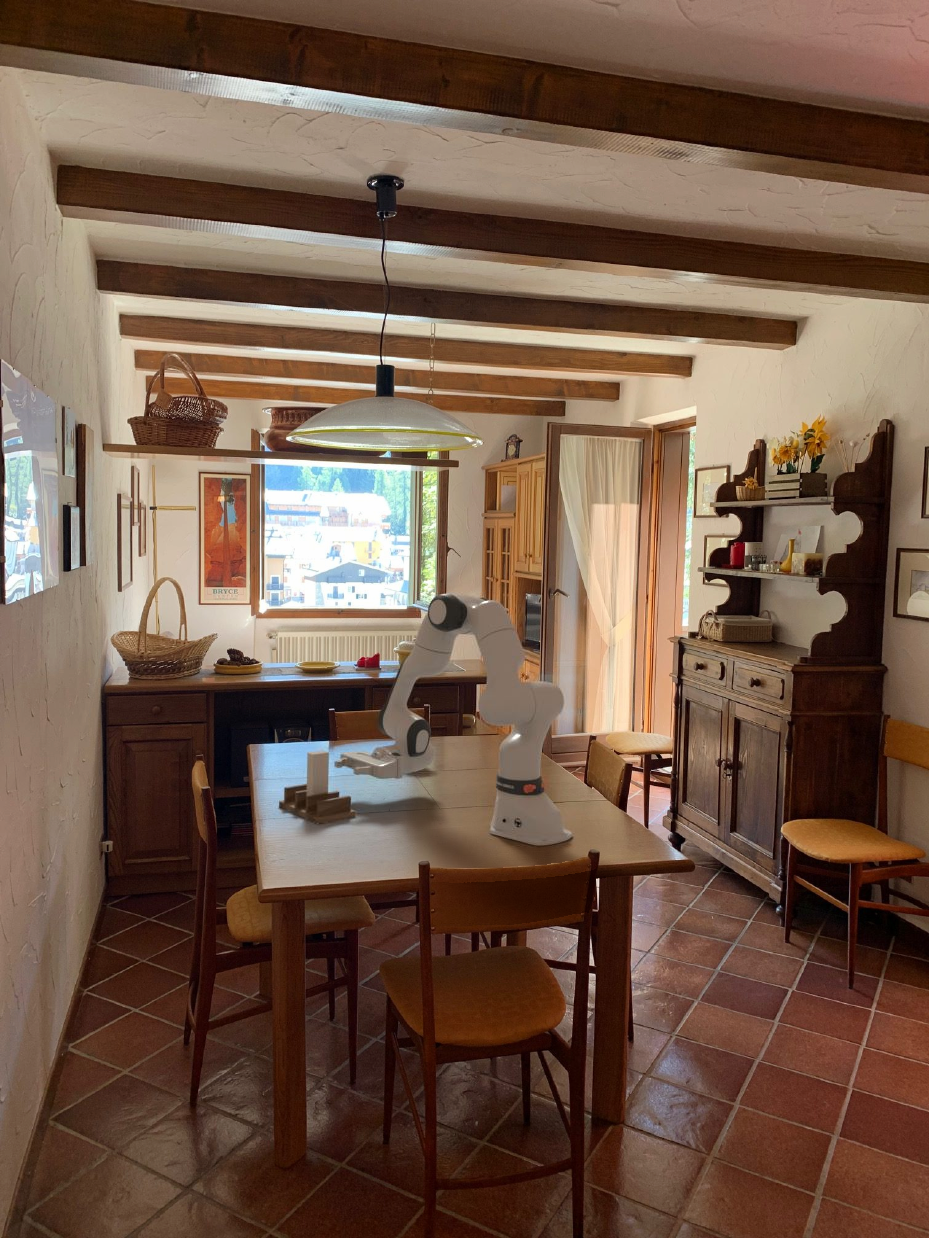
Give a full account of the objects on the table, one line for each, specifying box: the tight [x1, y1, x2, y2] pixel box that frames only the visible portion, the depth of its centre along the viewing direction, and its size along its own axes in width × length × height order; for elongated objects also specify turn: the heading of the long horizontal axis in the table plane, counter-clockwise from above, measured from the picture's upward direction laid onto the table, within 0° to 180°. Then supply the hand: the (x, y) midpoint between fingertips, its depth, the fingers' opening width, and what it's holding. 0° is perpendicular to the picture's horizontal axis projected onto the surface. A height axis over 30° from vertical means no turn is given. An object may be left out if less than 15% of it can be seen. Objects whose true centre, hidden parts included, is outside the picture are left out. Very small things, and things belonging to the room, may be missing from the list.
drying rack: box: [278, 783, 357, 824], centre depth 254 cm, size 20×12×6 cm, turn 42°
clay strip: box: [306, 749, 330, 796], centre depth 254 cm, size 3×5×15 cm, turn 131°
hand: (345, 767), depth 259 cm, fingers open, 8 cm apart
